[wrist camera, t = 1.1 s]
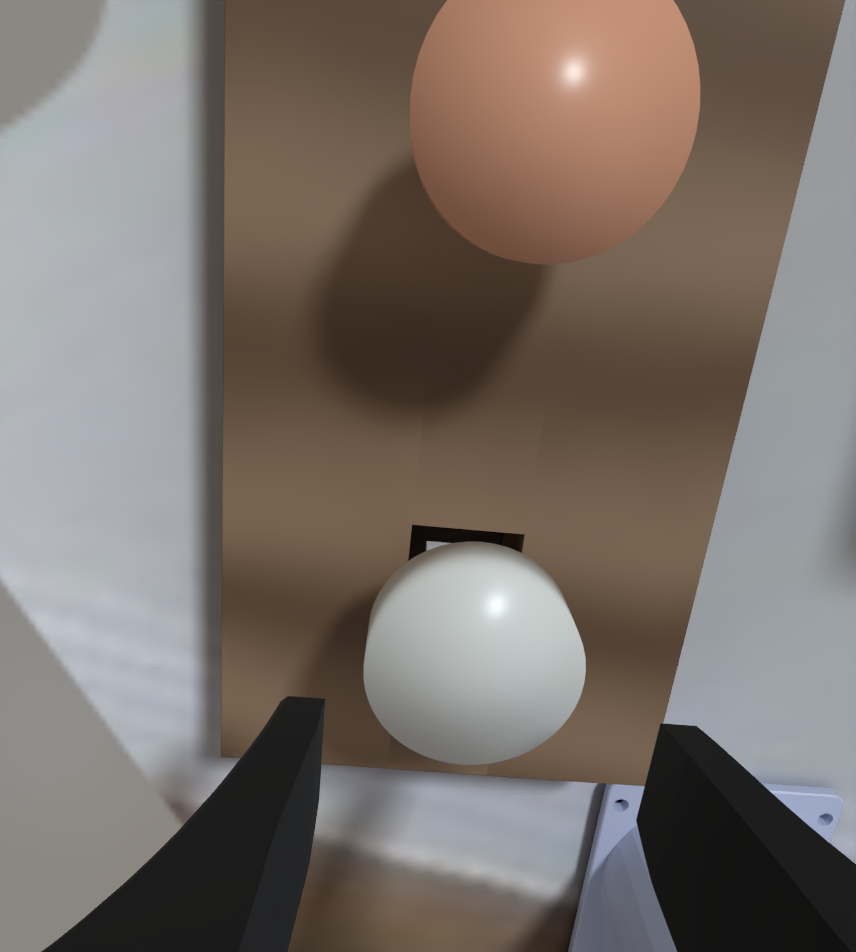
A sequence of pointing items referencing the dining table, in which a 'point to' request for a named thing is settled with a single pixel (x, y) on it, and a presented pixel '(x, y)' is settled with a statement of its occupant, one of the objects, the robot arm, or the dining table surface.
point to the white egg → (472, 654)
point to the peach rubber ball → (553, 121)
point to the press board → (480, 370)
